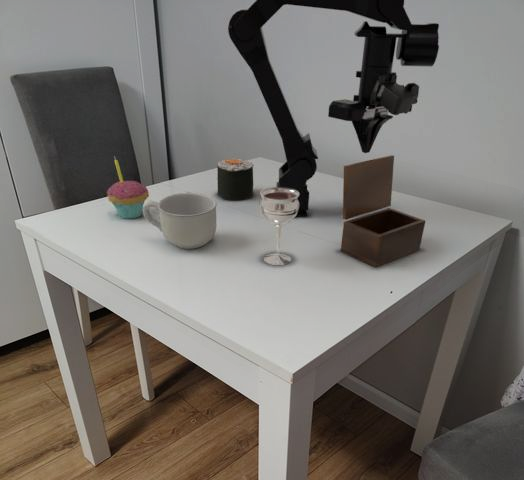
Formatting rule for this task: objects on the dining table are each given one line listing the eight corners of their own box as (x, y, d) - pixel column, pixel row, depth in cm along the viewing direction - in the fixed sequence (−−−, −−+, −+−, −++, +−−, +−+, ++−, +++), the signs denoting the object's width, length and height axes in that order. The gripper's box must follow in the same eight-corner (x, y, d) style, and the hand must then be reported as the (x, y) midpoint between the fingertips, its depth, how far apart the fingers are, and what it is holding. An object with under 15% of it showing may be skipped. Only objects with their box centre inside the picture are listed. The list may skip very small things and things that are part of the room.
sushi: (228, 202, 113) (227, 167, 109) (213, 192, 119) (211, 158, 115) (258, 197, 117) (259, 162, 112) (242, 187, 123) (242, 154, 118)
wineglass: (251, 257, 89) (251, 191, 82) (280, 248, 92) (282, 184, 86) (274, 270, 85) (276, 202, 78) (303, 261, 88) (308, 194, 81)
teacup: (226, 236, 97) (225, 196, 92) (203, 258, 89) (201, 215, 84) (164, 227, 101) (159, 188, 96) (136, 247, 92) (130, 205, 88)
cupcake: (102, 218, 104) (92, 159, 97) (126, 205, 111) (117, 150, 104) (136, 224, 102) (128, 164, 95) (158, 211, 108) (152, 154, 101)
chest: (419, 250, 93) (425, 220, 89) (375, 267, 86) (380, 236, 83) (384, 235, 98) (389, 207, 95) (340, 251, 92) (343, 221, 88)
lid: (394, 155, 90) (391, 155, 90) (346, 166, 83) (343, 165, 84) (390, 205, 94) (388, 205, 95) (345, 219, 88) (342, 219, 88)
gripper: (376, 73, 82) (364, 168, 91) (442, 67, 92) (425, 154, 101) (330, 67, 89) (322, 156, 98) (396, 61, 99) (383, 143, 108)
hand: (365, 152), depth 101 cm, fingers closed
